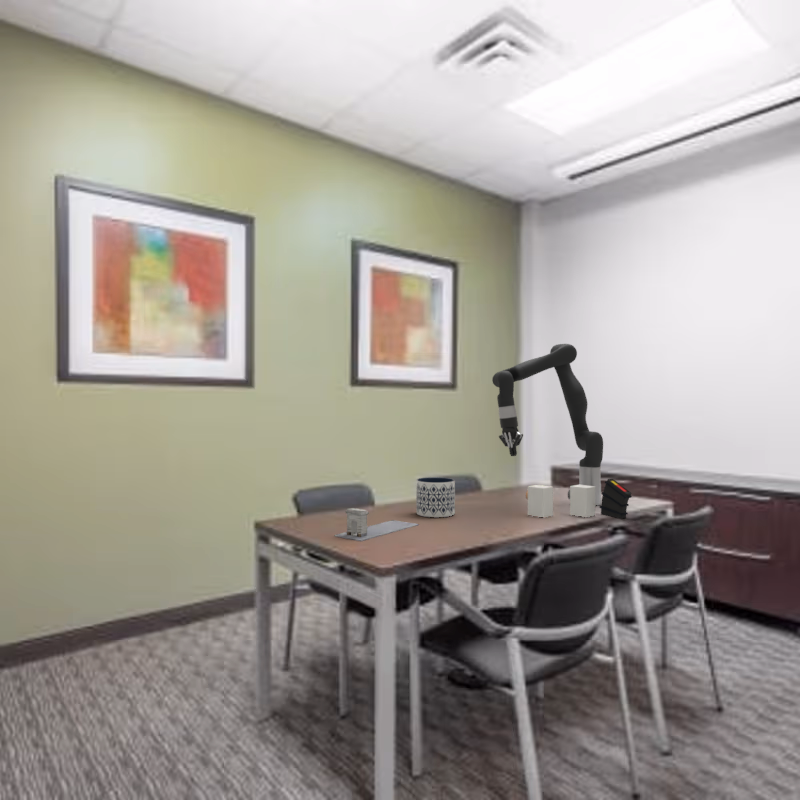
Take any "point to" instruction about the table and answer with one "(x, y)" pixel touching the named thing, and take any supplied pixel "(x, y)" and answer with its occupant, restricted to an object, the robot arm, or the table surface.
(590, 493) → the block
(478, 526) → the table surface
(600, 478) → the robot arm
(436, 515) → the planter
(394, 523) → the grey plate with block
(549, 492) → the block
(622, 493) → the magazine
